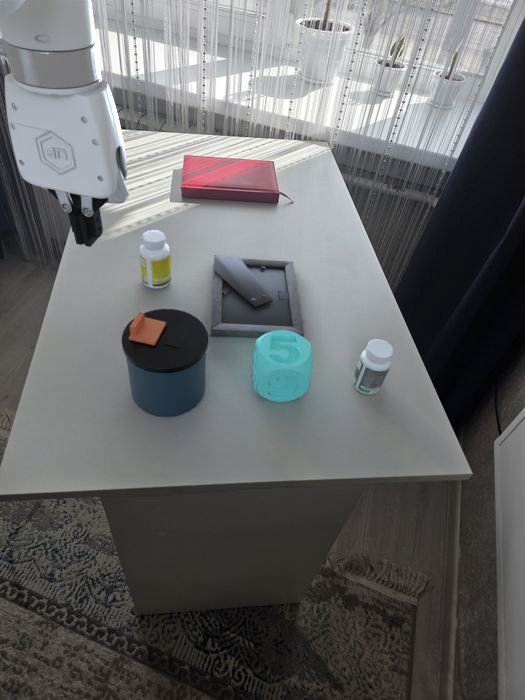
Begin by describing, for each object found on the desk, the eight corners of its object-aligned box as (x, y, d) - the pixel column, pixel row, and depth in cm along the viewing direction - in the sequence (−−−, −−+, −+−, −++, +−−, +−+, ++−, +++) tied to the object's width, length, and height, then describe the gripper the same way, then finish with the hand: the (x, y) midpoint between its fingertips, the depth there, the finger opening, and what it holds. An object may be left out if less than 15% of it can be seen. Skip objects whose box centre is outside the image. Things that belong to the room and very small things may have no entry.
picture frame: (213, 263, 95) (210, 335, 80) (214, 254, 93) (211, 327, 79) (291, 268, 96) (302, 340, 82) (293, 260, 95) (304, 331, 80)
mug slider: (128, 339, 62) (127, 329, 61) (141, 318, 65) (140, 308, 64) (154, 345, 62) (153, 335, 61) (166, 324, 65) (165, 314, 64)
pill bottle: (386, 389, 76) (402, 354, 70) (363, 399, 74) (378, 363, 68) (368, 369, 79) (383, 333, 73) (345, 378, 77) (359, 342, 71)
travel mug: (116, 408, 68) (106, 356, 60) (146, 353, 76) (141, 300, 68) (193, 427, 67) (193, 376, 59) (215, 369, 75) (218, 318, 67)
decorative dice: (300, 365, 78) (309, 330, 72) (304, 403, 72) (314, 369, 66) (252, 362, 77) (257, 327, 71) (253, 401, 71) (258, 366, 66)
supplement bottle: (176, 276, 90) (174, 232, 83) (163, 292, 87) (160, 248, 80) (150, 269, 91) (147, 224, 84) (136, 284, 87) (131, 239, 80)
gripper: (-51, 59, 40) (11, 243, 53) (117, 91, 39) (137, 271, 52) (2, 38, 45) (46, 211, 58) (151, 66, 44) (161, 235, 57)
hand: (89, 239), depth 55 cm, fingers closed
